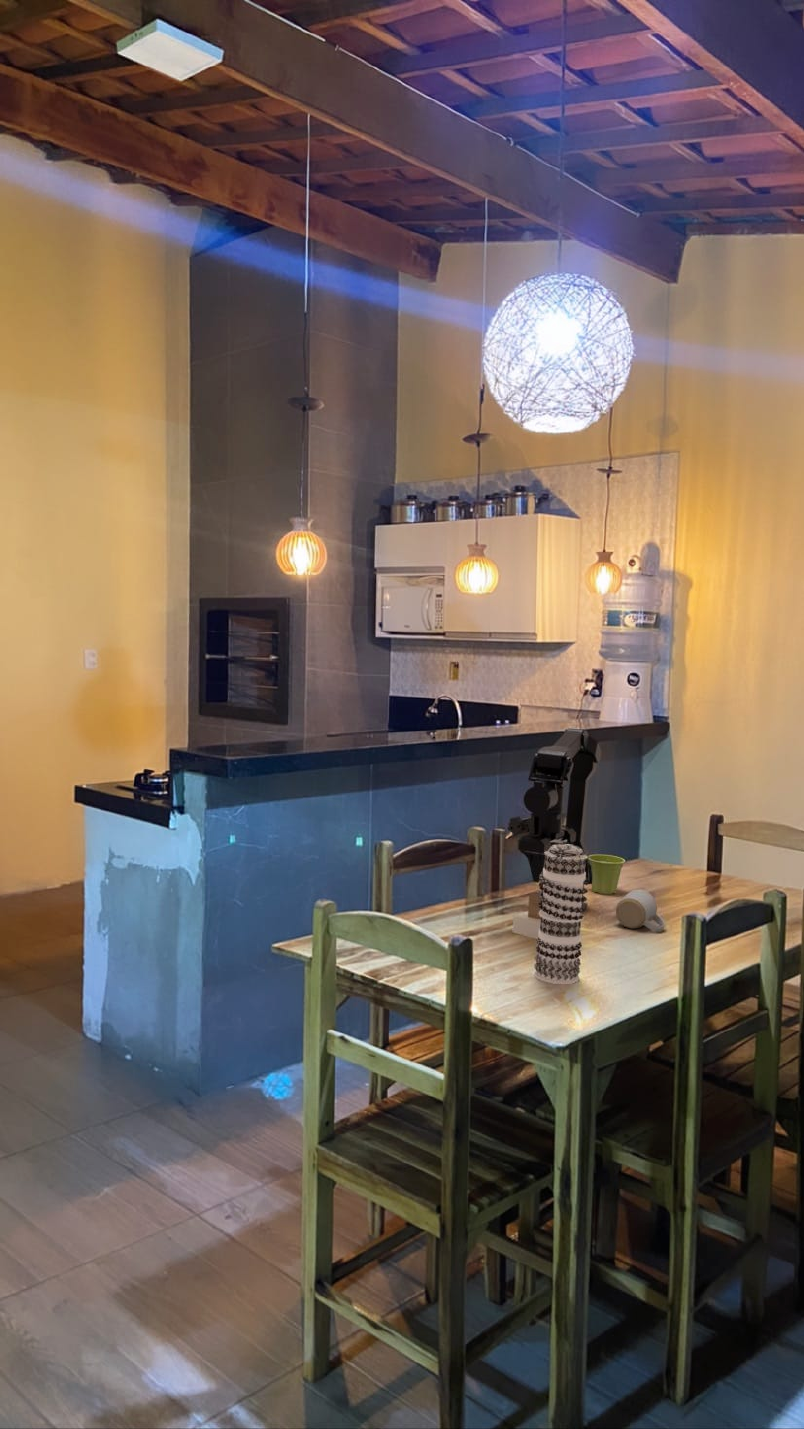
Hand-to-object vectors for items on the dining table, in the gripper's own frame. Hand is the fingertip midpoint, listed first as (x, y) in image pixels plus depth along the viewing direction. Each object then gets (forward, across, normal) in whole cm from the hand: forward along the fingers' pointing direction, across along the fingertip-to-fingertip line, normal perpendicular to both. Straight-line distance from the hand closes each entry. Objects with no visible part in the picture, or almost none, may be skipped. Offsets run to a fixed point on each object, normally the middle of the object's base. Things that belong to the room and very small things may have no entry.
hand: (544, 878), depth 222 cm
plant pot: (+12, -44, -2) cm, 46 cm away
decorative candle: (+12, +27, +15) cm, 33 cm away
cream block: (+12, +2, +1) cm, 12 cm away
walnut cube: (+8, +2, +1) cm, 8 cm away
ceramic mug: (+12, -19, +16) cm, 28 cm away
